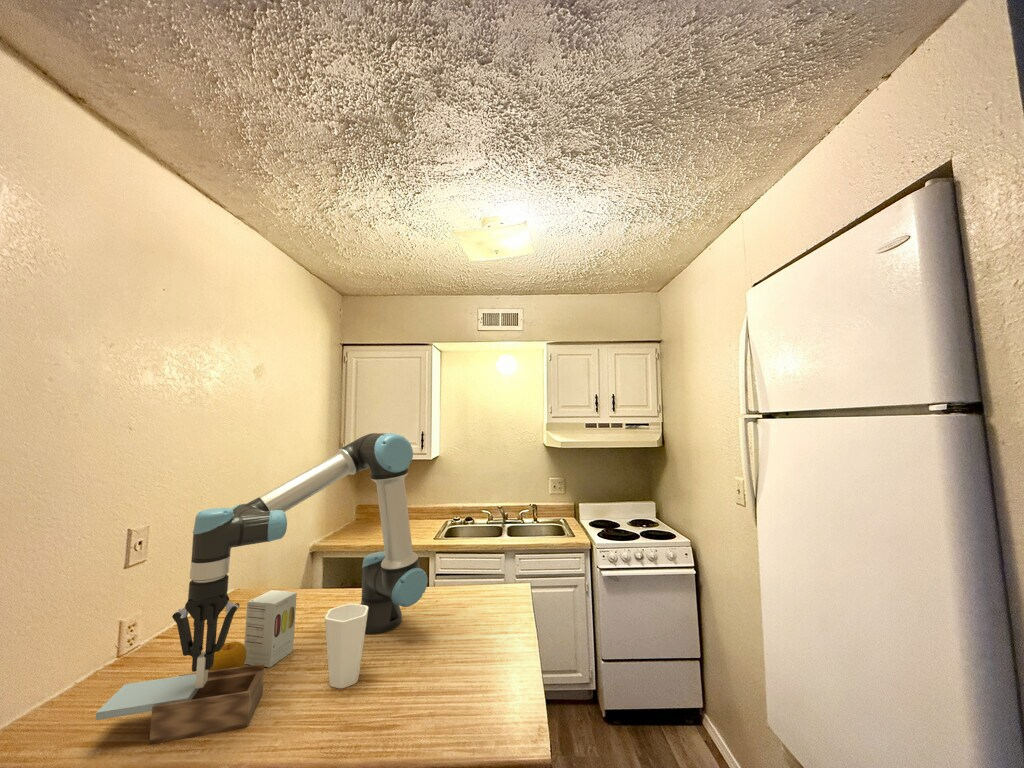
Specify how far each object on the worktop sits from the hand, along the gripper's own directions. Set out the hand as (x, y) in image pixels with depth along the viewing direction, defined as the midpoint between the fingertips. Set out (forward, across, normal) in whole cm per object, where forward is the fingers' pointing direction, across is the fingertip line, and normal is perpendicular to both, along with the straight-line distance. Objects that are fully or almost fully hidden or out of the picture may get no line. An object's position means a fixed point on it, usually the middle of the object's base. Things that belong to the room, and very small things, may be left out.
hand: (201, 684), depth 96 cm
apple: (+8, 0, -16) cm, 17 cm away
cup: (+8, -30, -6) cm, 32 cm away
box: (+7, -2, 0) cm, 8 cm away
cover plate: (+1, +9, 0) cm, 9 cm away
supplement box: (+8, -8, -25) cm, 27 cm away
